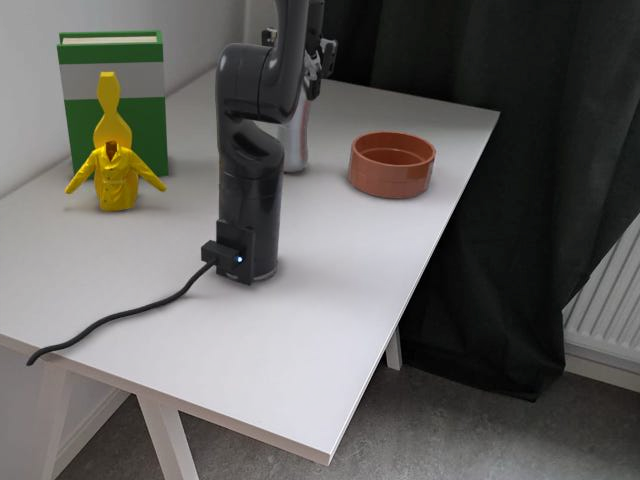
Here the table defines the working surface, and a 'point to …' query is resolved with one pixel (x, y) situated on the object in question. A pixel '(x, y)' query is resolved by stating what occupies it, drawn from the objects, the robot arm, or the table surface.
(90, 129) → the hardback book
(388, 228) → the table surface
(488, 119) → the table surface
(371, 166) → the bowl
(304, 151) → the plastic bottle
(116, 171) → the yellow jacket
